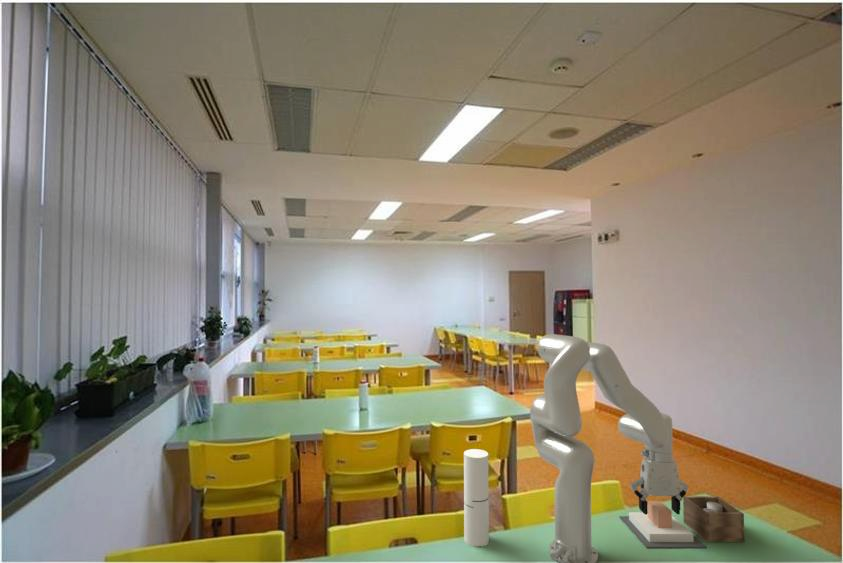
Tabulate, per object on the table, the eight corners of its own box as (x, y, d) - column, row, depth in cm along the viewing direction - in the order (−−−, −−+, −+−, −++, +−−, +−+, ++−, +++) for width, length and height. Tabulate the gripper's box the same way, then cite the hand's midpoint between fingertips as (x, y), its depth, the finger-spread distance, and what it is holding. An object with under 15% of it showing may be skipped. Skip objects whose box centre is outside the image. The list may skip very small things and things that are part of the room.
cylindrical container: (488, 548, 124) (487, 458, 124) (463, 545, 125) (462, 456, 126) (489, 534, 131) (488, 449, 131) (465, 531, 132) (465, 448, 133)
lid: (649, 542, 126) (649, 516, 126) (629, 519, 138) (628, 496, 139) (693, 542, 126) (693, 516, 126) (668, 519, 138) (668, 496, 139)
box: (706, 541, 126) (706, 513, 127) (683, 522, 137) (683, 496, 138) (744, 541, 127) (743, 513, 127) (718, 522, 138) (717, 496, 138)
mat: (646, 548, 123) (646, 546, 123) (619, 517, 140) (619, 516, 140) (706, 547, 124) (706, 546, 124) (671, 517, 140) (671, 516, 140)
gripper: (636, 459, 129) (637, 518, 128) (694, 459, 129) (696, 518, 128) (624, 450, 136) (625, 506, 136) (679, 450, 136) (680, 506, 136)
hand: (659, 512), depth 132 cm, fingers open, 9 cm apart
